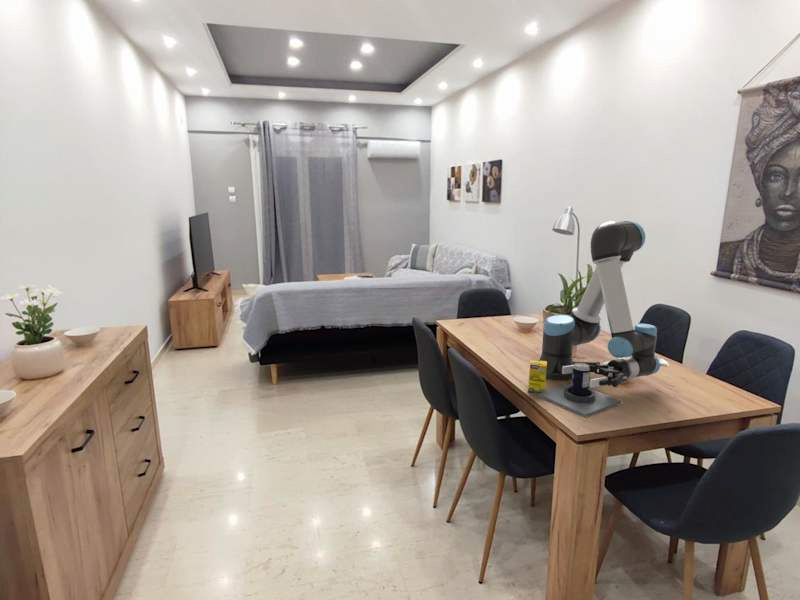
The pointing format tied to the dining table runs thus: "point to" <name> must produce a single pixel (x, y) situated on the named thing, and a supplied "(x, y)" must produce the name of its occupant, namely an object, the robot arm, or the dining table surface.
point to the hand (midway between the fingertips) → (576, 376)
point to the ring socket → (580, 400)
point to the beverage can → (580, 379)
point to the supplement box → (537, 376)
